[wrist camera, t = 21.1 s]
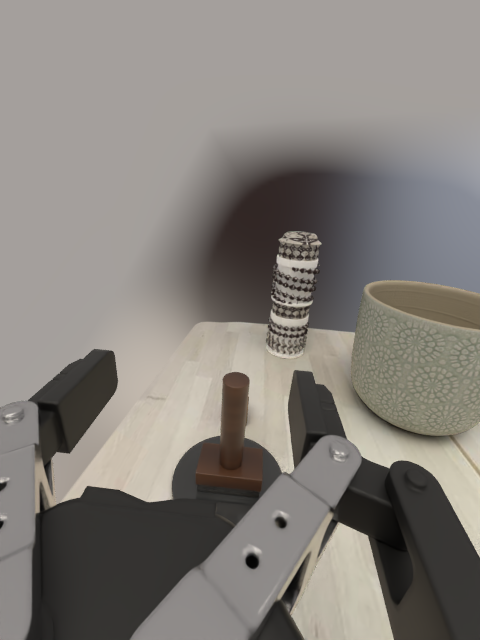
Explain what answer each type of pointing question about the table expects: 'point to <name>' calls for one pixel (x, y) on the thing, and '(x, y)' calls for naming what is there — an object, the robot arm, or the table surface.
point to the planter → (419, 356)
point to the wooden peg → (231, 447)
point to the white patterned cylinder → (292, 293)
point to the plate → (226, 504)
